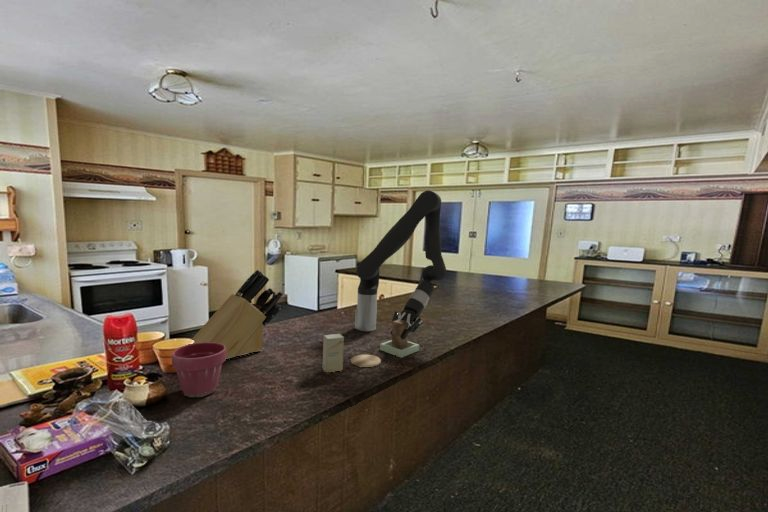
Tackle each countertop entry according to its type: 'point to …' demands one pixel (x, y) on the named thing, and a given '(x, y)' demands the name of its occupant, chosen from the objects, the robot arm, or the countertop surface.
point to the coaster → (366, 360)
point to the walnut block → (399, 334)
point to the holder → (400, 353)
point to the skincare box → (333, 352)
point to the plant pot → (199, 366)
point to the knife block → (242, 318)
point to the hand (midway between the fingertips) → (396, 336)
